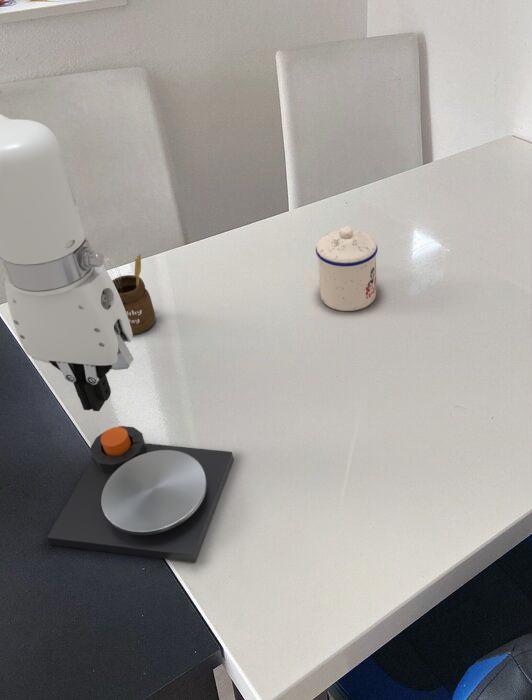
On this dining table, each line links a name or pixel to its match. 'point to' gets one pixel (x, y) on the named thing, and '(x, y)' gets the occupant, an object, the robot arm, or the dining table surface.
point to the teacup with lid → (347, 269)
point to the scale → (99, 534)
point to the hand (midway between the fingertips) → (97, 401)
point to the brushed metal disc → (154, 492)
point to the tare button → (115, 441)
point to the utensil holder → (135, 299)
